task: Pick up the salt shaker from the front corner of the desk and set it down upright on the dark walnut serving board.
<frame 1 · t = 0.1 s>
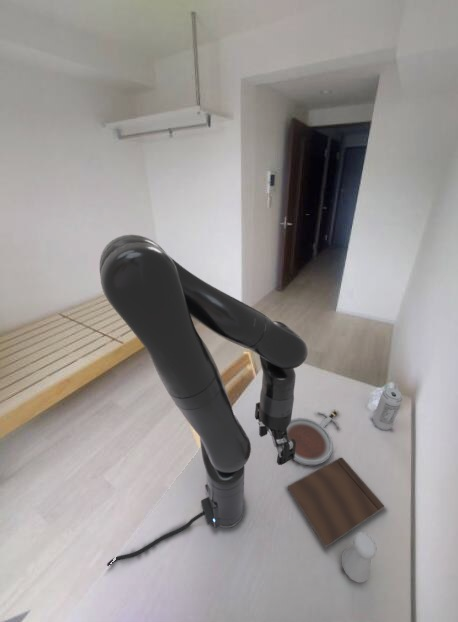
hand: (271, 448, 70), 17 cm above the table, tool pointing down, fingers open, 8 cm apart
serving board: (334, 498, 75), on the table
energy drink can: (381, 424, 96), on the table
salt shaker: (353, 569, 62), on the table
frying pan: (314, 434, 93), on the table
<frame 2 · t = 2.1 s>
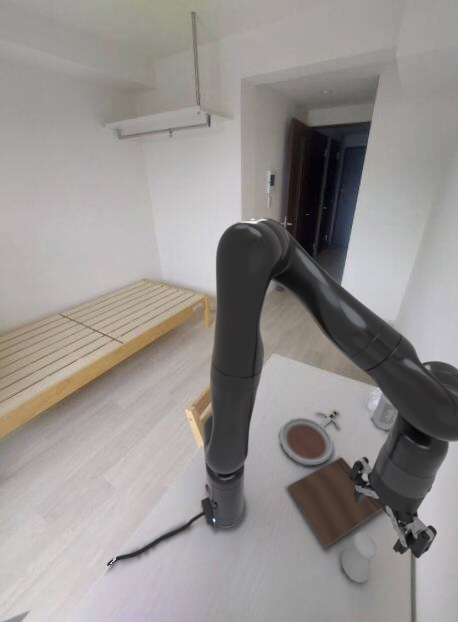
hand: (377, 522, 51), 22 cm above the table, tool pointing down, fingers open, 8 cm apart
nothing on the table moved.
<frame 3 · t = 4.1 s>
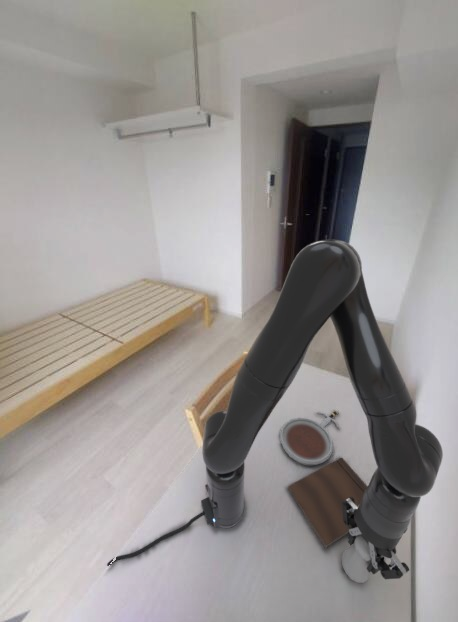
hand: (361, 554, 57), 8 cm above the table, tool pointing down, fingers closed on salt shaker, 4 cm apart
salt shaker: (353, 569, 62), on the table, touching gripper
everything else where it was.
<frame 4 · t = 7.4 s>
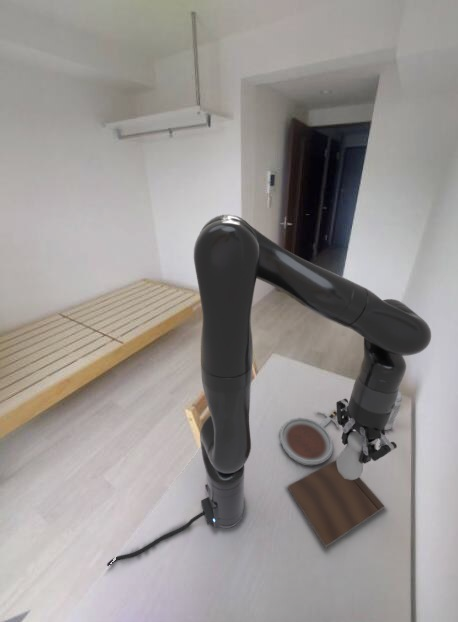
hand: (354, 451, 61), 24 cm above the table, tool pointing down, fingers closed on salt shaker, 4 cm apart
salt shaker: (346, 472, 66), point 15 cm above the table, touching gripper
everything else where it was.
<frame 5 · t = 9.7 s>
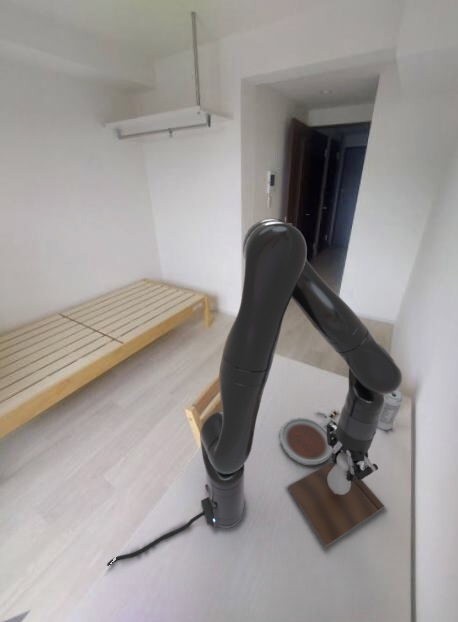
hand: (342, 469, 68), 13 cm above the table, tool pointing down, fingers closed on salt shaker, 4 cm apart
salt shaker: (336, 487, 73), point 5 cm above the table, touching gripper
everything else where it was.
when the fingers open (10 cm above the table, at t = 11.0 s): salt shaker stays where it is, resting on serving board.
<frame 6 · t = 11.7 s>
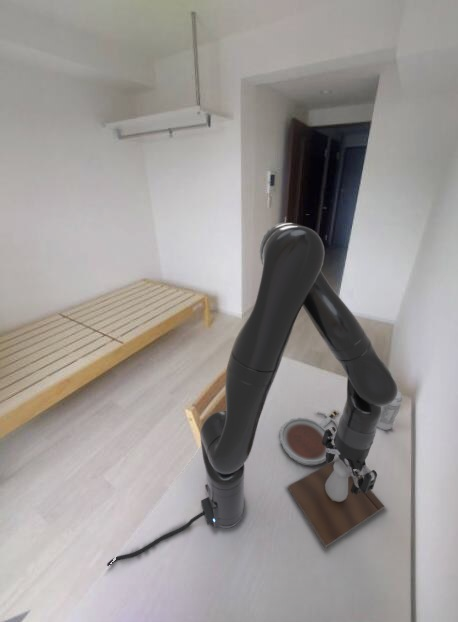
hand: (341, 475, 69), 11 cm above the table, tool pointing down, fingers open, 8 cm apart
salt shaker: (334, 494, 74), point 1 cm above the table, touching serving board
everything else where it was.
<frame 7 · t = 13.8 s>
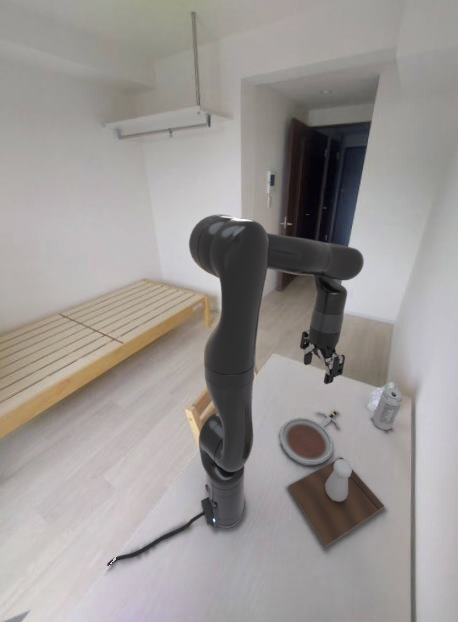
hand: (317, 372, 76), 30 cm above the table, tool pointing down, fingers open, 8 cm apart
nothing on the table moved.
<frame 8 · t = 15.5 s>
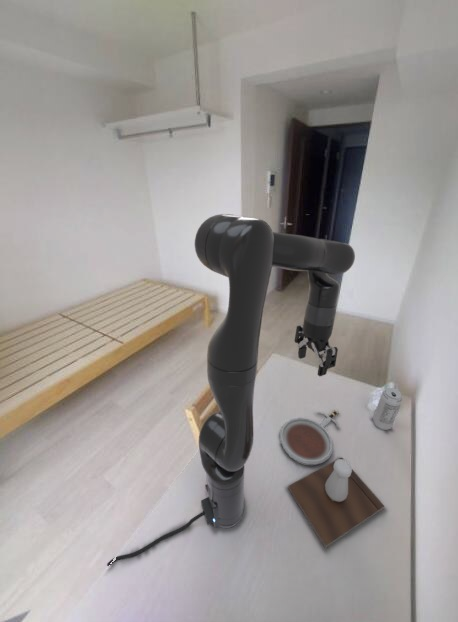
hand: (311, 365, 78), 30 cm above the table, tool pointing down, fingers open, 8 cm apart
nothing on the table moved.
at the end: salt shaker inside the target area on the serving board (0.4 cm from its centre), point 1.3 cm above the serving board's base; salt shaker tilted 0°; the gripper is holding nothing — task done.
